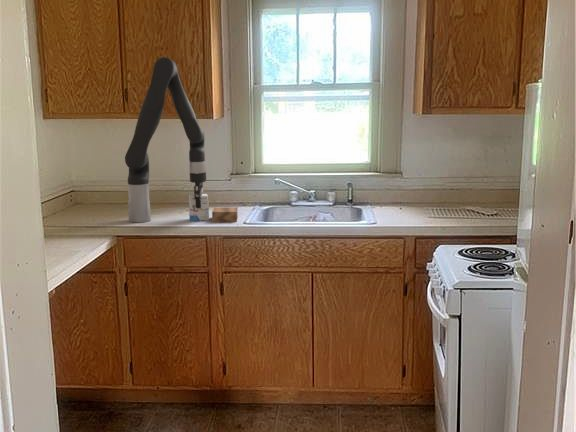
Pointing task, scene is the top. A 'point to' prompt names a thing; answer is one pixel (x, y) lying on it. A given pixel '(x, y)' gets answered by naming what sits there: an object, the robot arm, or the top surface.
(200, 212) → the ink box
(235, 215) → the walnut block
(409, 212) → the top surface
